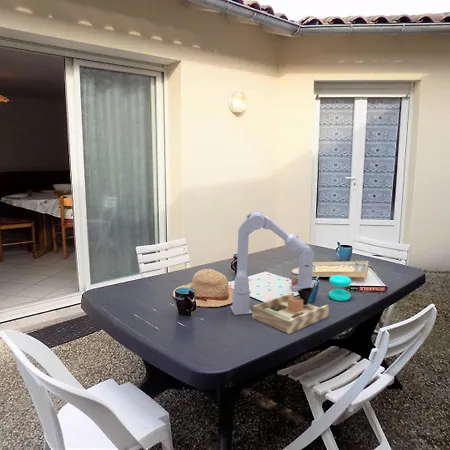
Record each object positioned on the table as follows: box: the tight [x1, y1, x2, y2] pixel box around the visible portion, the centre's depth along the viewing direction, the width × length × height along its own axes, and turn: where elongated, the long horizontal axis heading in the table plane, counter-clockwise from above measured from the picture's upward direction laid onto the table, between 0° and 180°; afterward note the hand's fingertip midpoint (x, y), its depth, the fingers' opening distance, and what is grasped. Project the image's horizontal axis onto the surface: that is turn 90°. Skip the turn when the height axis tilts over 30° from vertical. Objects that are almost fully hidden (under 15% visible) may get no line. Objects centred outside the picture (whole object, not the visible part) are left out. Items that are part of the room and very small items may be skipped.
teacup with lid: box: [290, 266, 299, 289], centre depth 196 cm, size 12×9×12 cm
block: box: [288, 296, 303, 312], centre depth 164 cm, size 4×4×4 cm
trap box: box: [251, 292, 330, 335], centre depth 162 cm, size 25×20×5 cm
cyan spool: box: [328, 274, 352, 302], centre depth 184 cm, size 10×10×10 cm
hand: (304, 304), depth 168 cm, fingers closed
